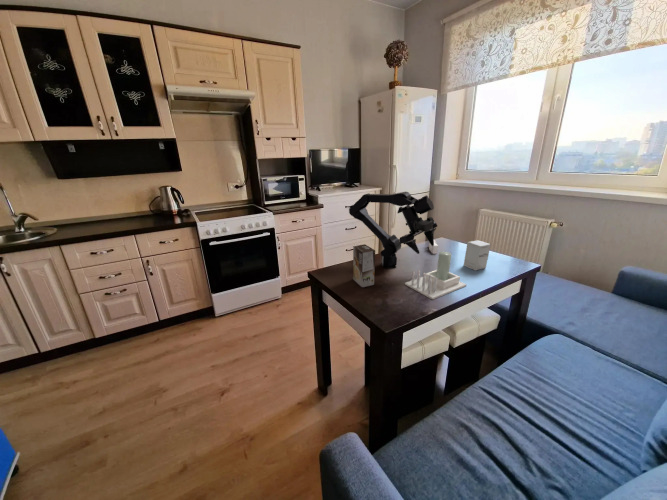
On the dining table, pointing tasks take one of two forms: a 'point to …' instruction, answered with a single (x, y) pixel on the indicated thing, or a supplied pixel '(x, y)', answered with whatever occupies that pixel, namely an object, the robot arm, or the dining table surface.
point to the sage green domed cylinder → (443, 265)
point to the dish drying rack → (435, 284)
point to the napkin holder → (433, 247)
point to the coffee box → (363, 265)
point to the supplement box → (476, 255)
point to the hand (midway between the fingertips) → (425, 249)
